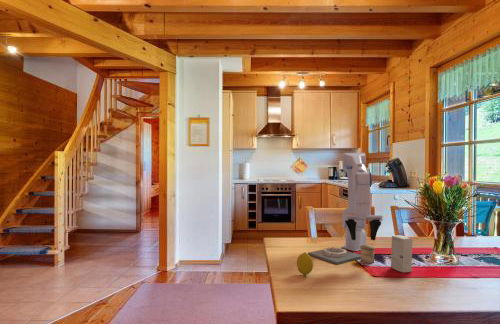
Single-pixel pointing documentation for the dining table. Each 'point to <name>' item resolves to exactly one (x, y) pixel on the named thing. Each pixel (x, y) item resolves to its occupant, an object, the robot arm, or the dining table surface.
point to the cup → (367, 253)
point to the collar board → (336, 259)
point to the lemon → (304, 264)
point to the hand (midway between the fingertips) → (363, 239)
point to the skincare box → (401, 253)
